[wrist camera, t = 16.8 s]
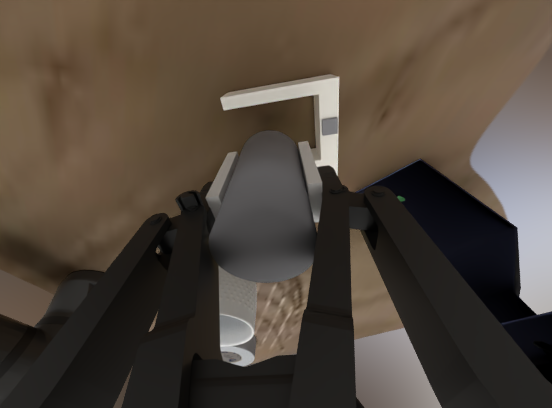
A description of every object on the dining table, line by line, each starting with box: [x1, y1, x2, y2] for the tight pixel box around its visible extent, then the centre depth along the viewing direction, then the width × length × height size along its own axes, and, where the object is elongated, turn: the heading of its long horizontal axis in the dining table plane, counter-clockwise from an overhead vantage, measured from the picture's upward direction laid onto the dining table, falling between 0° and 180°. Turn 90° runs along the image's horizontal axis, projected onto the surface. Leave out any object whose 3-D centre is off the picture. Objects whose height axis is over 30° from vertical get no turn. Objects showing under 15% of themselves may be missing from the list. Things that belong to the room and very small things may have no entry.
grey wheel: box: [220, 335, 256, 366], centre depth 61 cm, size 15×15×5 cm
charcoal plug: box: [209, 130, 317, 283], centre depth 14 cm, size 5×5×10 cm
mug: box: [219, 266, 257, 346], centre depth 36 cm, size 15×11×13 cm
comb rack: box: [220, 74, 339, 176], centre depth 27 cm, size 12×18×5 cm, turn 9°
